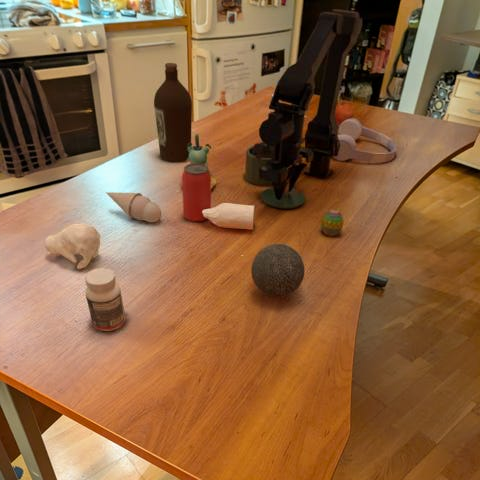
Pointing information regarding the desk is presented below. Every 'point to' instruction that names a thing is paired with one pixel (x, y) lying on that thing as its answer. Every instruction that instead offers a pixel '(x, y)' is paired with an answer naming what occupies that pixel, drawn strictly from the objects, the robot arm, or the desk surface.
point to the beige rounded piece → (75, 243)
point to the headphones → (353, 131)
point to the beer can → (196, 191)
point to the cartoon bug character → (199, 155)
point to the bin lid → (283, 198)
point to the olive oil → (173, 117)
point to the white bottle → (231, 215)
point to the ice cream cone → (137, 206)
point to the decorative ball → (277, 270)
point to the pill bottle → (104, 299)
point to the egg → (332, 222)
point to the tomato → (343, 112)
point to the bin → (256, 168)
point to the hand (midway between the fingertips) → (283, 195)
